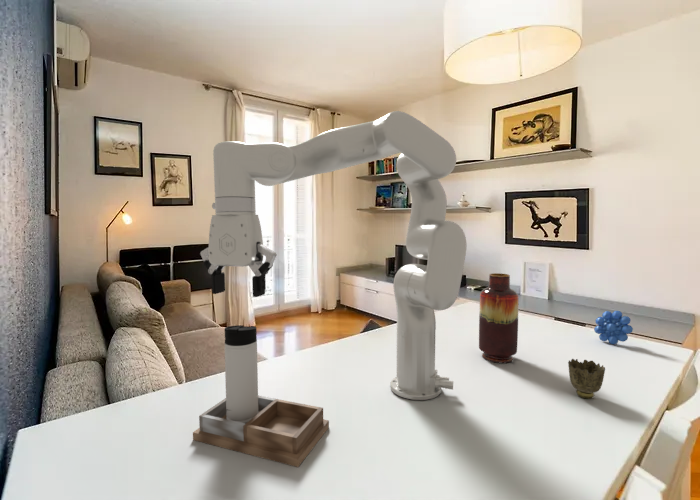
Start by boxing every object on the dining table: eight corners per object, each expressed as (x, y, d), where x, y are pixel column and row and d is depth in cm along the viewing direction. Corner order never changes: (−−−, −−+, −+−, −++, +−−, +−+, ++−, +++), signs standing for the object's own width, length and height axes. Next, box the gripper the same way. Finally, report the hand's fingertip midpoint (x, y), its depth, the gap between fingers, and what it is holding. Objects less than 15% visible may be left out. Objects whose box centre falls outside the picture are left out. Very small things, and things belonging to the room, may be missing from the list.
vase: (499, 367, 105) (502, 278, 103) (470, 355, 115) (472, 273, 113) (525, 360, 110) (527, 275, 109) (495, 349, 120) (497, 271, 118)
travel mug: (219, 428, 72) (216, 328, 70) (236, 411, 78) (234, 319, 77) (248, 431, 70) (246, 330, 69) (263, 414, 77) (261, 321, 75)
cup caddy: (328, 427, 74) (328, 406, 74) (298, 467, 62) (297, 442, 62) (236, 408, 82) (235, 388, 82) (193, 439, 70) (192, 417, 70)
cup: (598, 392, 90) (599, 360, 89) (608, 406, 83) (610, 371, 82) (563, 387, 92) (565, 356, 91) (571, 401, 85) (572, 367, 85)
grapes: (638, 347, 122) (640, 311, 121) (627, 350, 119) (629, 314, 118) (600, 337, 132) (602, 305, 131) (590, 340, 129) (591, 307, 128)
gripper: (186, 208, 71) (190, 295, 72) (262, 205, 65) (264, 300, 66) (213, 209, 78) (216, 288, 79) (284, 207, 72) (286, 293, 73)
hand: (238, 294), depth 72 cm, fingers open, 9 cm apart
